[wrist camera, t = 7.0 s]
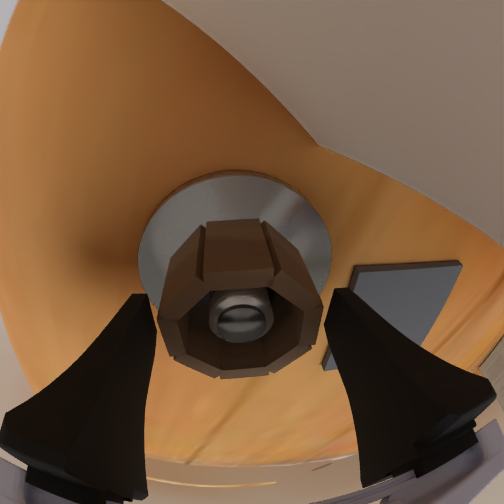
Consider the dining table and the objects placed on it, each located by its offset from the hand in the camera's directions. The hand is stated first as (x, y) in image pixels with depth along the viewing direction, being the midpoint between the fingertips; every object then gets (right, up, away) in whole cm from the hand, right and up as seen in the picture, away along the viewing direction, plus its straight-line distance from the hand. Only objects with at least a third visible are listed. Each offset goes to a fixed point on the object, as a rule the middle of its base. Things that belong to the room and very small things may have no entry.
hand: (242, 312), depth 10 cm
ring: (0, +1, +2) cm, 3 cm away
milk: (+4, +14, -4) cm, 15 cm away
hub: (0, +2, +3) cm, 4 cm away
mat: (+10, -2, +7) cm, 13 cm away
